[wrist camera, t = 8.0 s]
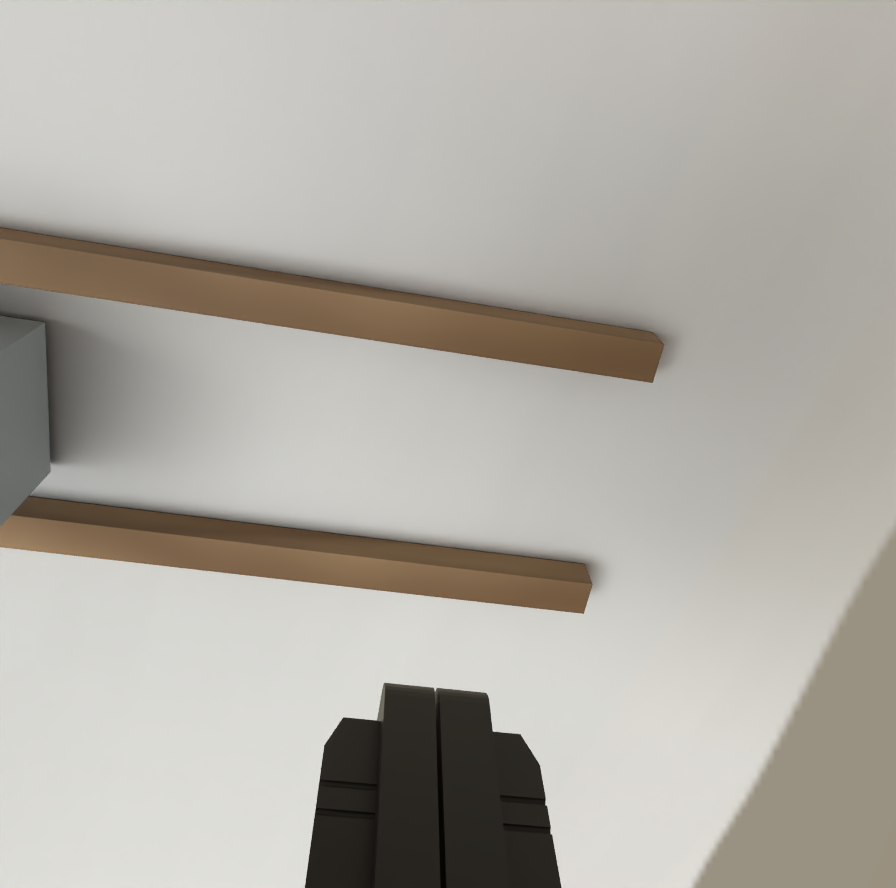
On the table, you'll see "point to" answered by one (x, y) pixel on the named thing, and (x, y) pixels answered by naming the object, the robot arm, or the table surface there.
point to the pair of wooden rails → (326, 312)
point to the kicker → (22, 411)
